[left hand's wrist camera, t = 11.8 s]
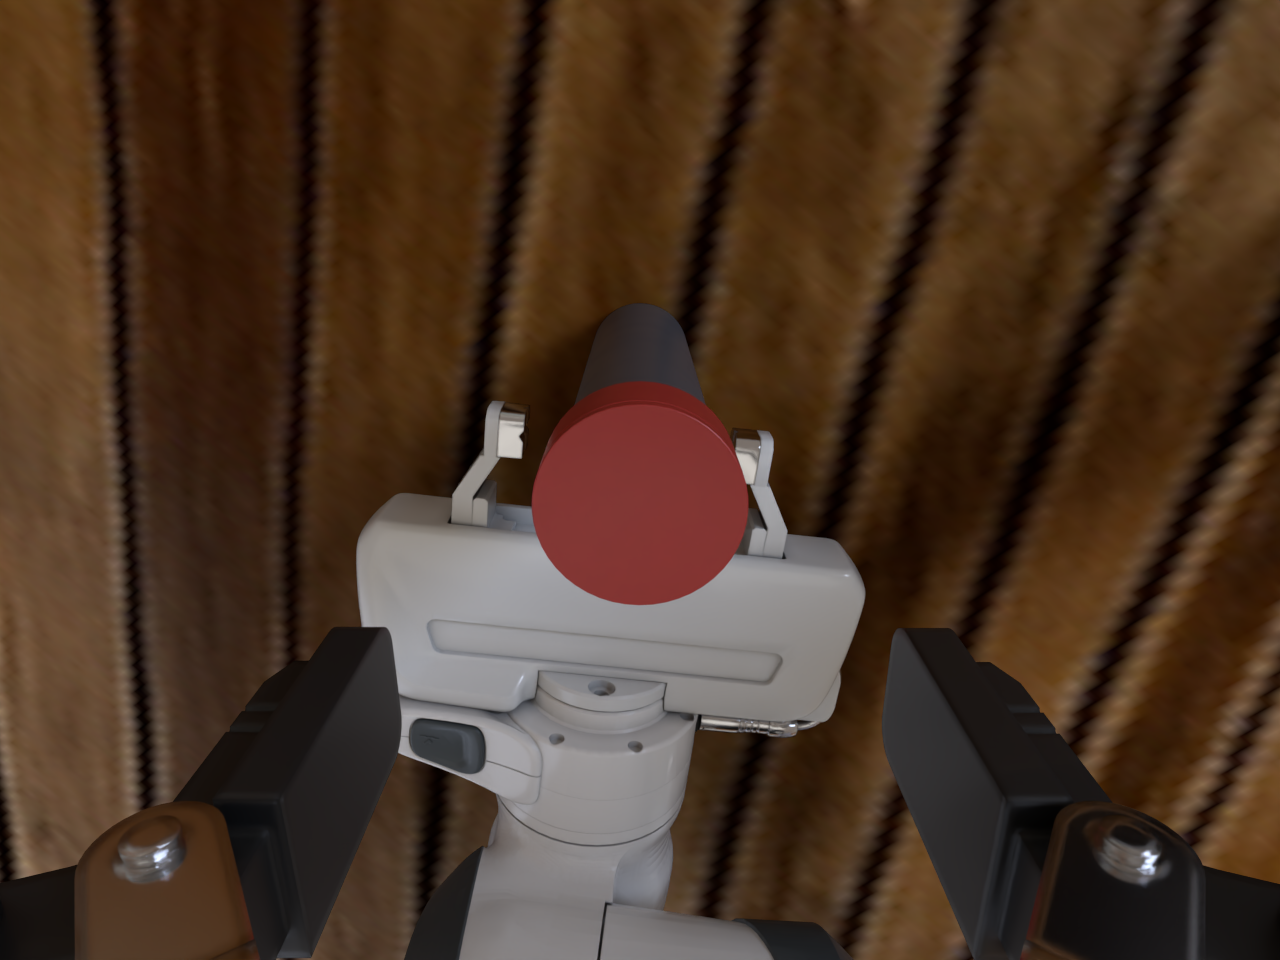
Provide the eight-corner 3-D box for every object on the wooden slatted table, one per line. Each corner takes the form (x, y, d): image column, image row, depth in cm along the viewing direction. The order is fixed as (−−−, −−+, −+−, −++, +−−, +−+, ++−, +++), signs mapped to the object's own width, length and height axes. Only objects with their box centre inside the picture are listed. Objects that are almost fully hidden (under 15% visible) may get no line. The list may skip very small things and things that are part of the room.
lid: (589, 588, 21) (583, 633, 19) (510, 423, 20) (494, 452, 18) (763, 525, 21) (778, 564, 18) (696, 349, 19) (704, 370, 17)
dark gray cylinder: (614, 409, 37) (592, 607, 19) (578, 324, 35) (519, 455, 18) (700, 376, 36) (755, 548, 19) (666, 288, 35) (692, 386, 17)
